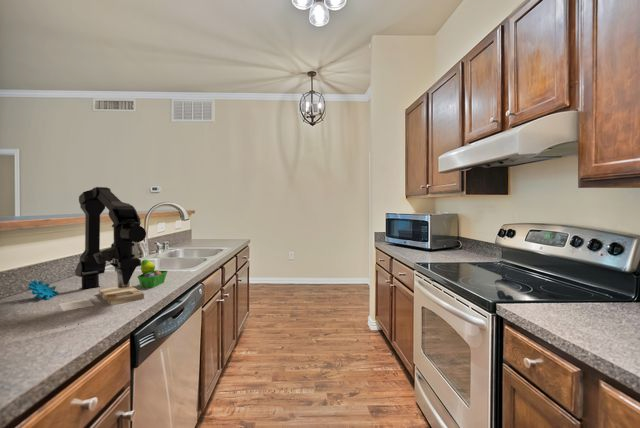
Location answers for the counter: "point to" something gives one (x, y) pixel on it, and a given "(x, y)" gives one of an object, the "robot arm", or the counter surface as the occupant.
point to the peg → (120, 280)
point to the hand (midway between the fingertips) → (123, 283)
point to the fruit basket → (150, 275)
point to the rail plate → (120, 294)
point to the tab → (75, 304)
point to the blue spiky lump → (42, 290)
